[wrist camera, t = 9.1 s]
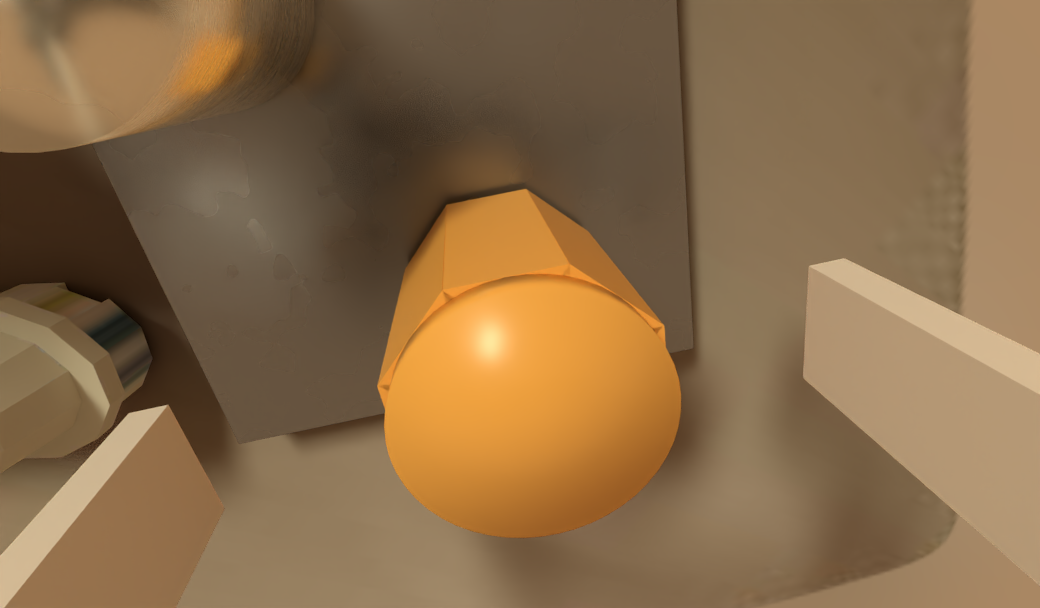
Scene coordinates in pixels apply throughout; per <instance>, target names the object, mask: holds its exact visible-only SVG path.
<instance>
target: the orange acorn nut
mask: <svg viewBox="0 0 1040 608" xmlns="http://www.w3.org/2000/svg"><path fill="white" fill-rule="evenodd" d="M377 387H378V390H379V393H380V396H381V399H382V402H383V405H384V408H385V421H384V429H385V440H386V445H387V449H388V453H389V457H390V459H391V462H392V464H393V466H394V468H395V471H396V473H397V474H398V476H399V478H400V479H401V481H402V482H403V484H404V485H405V487H406V488H407V489H408V490H409V491H410V493H411V494H412V495H413V496H414V497H415V498H416V499H417V500H418V501H419V502H420V503H421V504H423V505H424V506H425V507H426V508H427V509H429V510H430V511H432V512H433V513H435V514H436V515H438V516H439V517H441V518H442V519H444V520H446V521H448V522H450V523H452V524H454V525H456V526H459V527H462V528H465V529H467V530H470V531H473V532H478V533H482V534H486V535H491V536H499V537H509V538H529V537H542V536H548V535H553V534H559V533H563V532H566V531H570V530H574V529H577V528H579V527H582V526H585V525H587V524H590V523H592V522H594V521H596V520H598V519H600V518H602V517H604V516H606V515H608V514H610V513H611V512H613V511H615V510H616V509H618V508H619V507H621V506H622V505H624V504H625V503H626V502H627V501H629V500H630V499H631V498H633V497H634V496H635V495H636V494H637V493H638V492H639V491H640V490H641V489H642V488H643V487H644V486H645V485H646V484H647V483H648V482H649V481H650V480H651V479H652V477H653V476H654V475H655V474H656V472H657V471H658V470H659V468H660V467H661V465H662V463H663V462H664V460H665V459H666V457H667V455H668V453H669V451H670V449H671V447H672V445H673V442H674V439H675V436H676V433H677V430H678V426H679V420H680V414H681V390H680V383H679V378H678V375H677V371H676V368H675V365H674V363H673V361H672V359H671V357H670V355H669V352H668V350H667V349H666V342H665V328H664V325H663V323H662V322H661V321H660V320H659V319H658V317H657V316H656V315H655V314H654V312H653V311H652V310H651V309H650V307H649V306H648V305H647V304H646V302H645V301H644V300H643V299H642V297H641V296H640V295H639V294H638V292H637V291H636V290H635V289H634V288H633V286H632V285H631V284H630V283H629V281H628V280H627V279H626V278H625V276H624V275H623V274H622V273H621V271H620V270H619V269H618V268H617V266H616V265H615V264H614V263H613V261H612V260H611V259H610V258H609V256H608V255H607V254H606V253H605V252H604V250H603V249H602V248H601V247H600V245H599V244H598V243H597V242H596V240H595V239H594V238H593V237H592V235H591V234H590V233H589V232H588V231H587V230H586V229H584V228H583V227H581V226H580V225H578V224H577V223H575V222H574V221H572V220H571V219H569V218H568V217H567V216H565V215H564V214H562V213H561V212H559V211H558V210H556V209H555V208H553V207H552V206H550V205H549V204H548V203H546V202H545V201H543V200H542V199H540V198H539V197H537V196H536V195H534V194H533V193H531V192H530V191H528V190H527V189H522V190H517V191H512V192H507V193H502V194H497V195H492V196H487V197H482V198H477V199H472V200H467V201H462V202H457V203H453V204H448V205H446V206H445V208H444V209H443V211H442V213H441V214H440V216H439V217H438V219H437V220H436V222H435V223H434V225H433V226H432V228H431V230H430V231H429V233H428V234H427V236H426V237H425V239H424V240H423V242H422V244H421V245H420V247H419V248H418V250H417V251H416V253H415V254H414V256H413V257H412V259H411V261H410V262H409V264H408V265H407V267H406V268H405V272H404V276H403V280H402V284H401V289H400V293H399V297H398V301H397V305H396V310H395V314H394V318H393V322H392V326H391V331H390V335H389V339H388V343H387V347H386V352H385V356H384V360H383V364H382V368H381V373H380V377H379V381H378V385H377Z"/></svg>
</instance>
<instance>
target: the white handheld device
mask: <svg viewBox="0 0 1040 608" xmlns="http://www.w3.org/2000/svg"><path fill="white" fill-rule="evenodd" d="M152 359H153V358H152V355H151V353H150V350H149V347H148V344H147V342H146V339H145V336H144V334H143V331H142V328H141V326H139V325H138V324H137V323H136V322H135V321H134V320H133V319H132V318H130V317H129V316H128V315H127V314H126V313H125V312H124V311H122V310H121V309H120V308H119V307H118V306H117V305H116V304H114V303H113V302H112V301H111V300H110V299H107V300H106V301H104V302H102V303H101V302H98V301H95V300H92V299H90V298H87V297H84V296H81V295H79V294H76V293H73V292H70V291H68V289H67V287H66V285H65V283H37V284H20V285H18V286H16V287H14V288H11V289H9V290H7V291H4V292H2V293H0V473H2V472H3V471H5V470H6V469H8V468H10V467H11V466H13V465H14V464H16V463H17V462H19V461H20V460H22V459H25V458H62V457H64V456H66V455H68V454H69V453H71V452H73V451H75V450H77V449H79V448H81V447H83V446H85V445H87V444H89V443H91V442H93V441H95V440H96V439H98V438H99V437H100V436H102V435H103V434H104V433H105V432H106V431H107V430H109V429H110V428H111V427H112V426H113V424H114V421H115V419H116V416H117V414H118V411H119V408H120V406H121V403H122V401H124V400H125V399H126V398H127V397H129V396H130V395H131V394H132V393H133V392H135V391H136V390H137V389H138V388H140V387H141V386H142V385H143V382H144V380H145V377H146V374H147V372H148V369H149V367H150V364H151V362H152Z"/></svg>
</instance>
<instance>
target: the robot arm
mask: <svg viewBox="0 0 1040 608" xmlns="http://www.w3.org/2000/svg"><path fill="white" fill-rule="evenodd" d="M803 378H804V379H805V380H806V381H807V382H808V383H809V384H810V385H812V386H813V387H814V388H815V389H816V390H817V391H818V392H820V393H821V394H822V395H823V396H824V397H825V398H826V399H828V400H829V401H830V402H831V403H832V404H833V405H834V406H836V407H837V408H838V409H839V410H840V411H841V412H842V413H843V414H845V415H846V416H847V417H848V418H849V419H850V420H851V421H853V422H854V423H855V424H856V425H857V426H858V427H859V428H861V429H862V430H863V431H864V432H865V433H866V434H867V435H869V436H870V437H871V438H872V439H873V440H874V441H875V442H877V443H878V444H879V445H880V446H881V447H882V448H883V449H884V450H886V451H887V452H888V453H889V454H890V455H891V456H892V457H894V458H895V459H896V460H897V461H898V462H899V463H900V464H902V465H903V466H904V467H905V468H906V469H907V470H908V471H910V472H911V473H912V474H913V475H914V476H915V477H916V478H917V479H919V480H920V481H921V482H922V483H923V484H924V485H925V486H927V487H928V488H929V489H930V490H931V491H932V492H933V493H935V494H936V495H937V496H938V497H939V498H940V499H941V500H943V501H944V502H945V503H946V504H947V505H948V506H949V507H950V508H952V509H953V510H954V511H955V512H956V513H957V514H958V515H960V516H961V517H962V518H963V519H964V520H965V521H966V522H968V523H969V524H970V525H971V526H972V527H973V528H975V529H976V530H977V531H978V532H979V533H980V534H981V535H982V536H984V537H985V538H986V539H987V540H988V541H989V542H990V543H992V544H993V545H994V546H995V547H996V548H997V549H999V551H1001V552H1002V553H1003V554H1004V555H1005V556H1006V557H1007V558H1009V559H1010V560H1011V561H1012V562H1013V563H1014V564H1015V565H1017V566H1018V567H1019V568H1020V569H1021V570H1022V571H1023V572H1025V573H1026V574H1027V575H1028V576H1029V577H1030V578H1031V579H1032V580H1034V581H1035V582H1036V583H1037V584H1038V585H1039V586H1040V354H1039V353H1037V352H1035V351H1033V350H1031V349H1029V348H1027V347H1025V346H1023V345H1020V344H1018V343H1016V342H1014V341H1012V340H1010V339H1008V338H1006V337H1004V336H1002V335H1000V334H998V333H996V332H994V331H992V330H990V329H987V328H986V327H983V326H981V325H979V324H977V323H975V322H973V321H971V320H969V319H967V318H965V317H963V316H961V315H959V314H957V313H955V312H953V311H951V310H949V309H947V308H945V307H943V306H941V305H939V304H937V303H935V302H933V301H930V300H928V299H926V298H924V297H922V296H920V295H918V294H916V293H914V292H912V291H910V290H908V289H906V288H904V287H902V286H900V285H898V284H896V283H894V282H892V281H890V280H888V279H885V278H883V277H881V276H879V275H877V274H875V273H873V272H871V271H869V270H867V269H865V268H863V267H861V266H859V265H857V264H855V263H853V262H851V261H849V260H847V259H845V258H844V259H839V260H834V261H830V262H825V263H821V264H816V265H811V266H809V273H808V292H807V311H806V331H805V350H804V369H803ZM224 509H225V508H224V506H223V504H222V503H221V501H220V499H219V497H218V495H217V493H216V492H215V490H214V488H213V486H212V484H211V482H210V481H209V479H208V477H207V475H206V473H205V471H204V469H203V468H202V466H201V464H200V462H199V460H198V458H197V457H196V455H195V453H194V451H193V449H192V447H191V446H190V444H189V442H188V440H187V438H186V436H185V434H184V433H183V431H182V429H181V427H180V425H179V423H178V422H177V420H176V418H175V416H174V414H173V412H172V410H171V409H170V407H169V405H165V406H160V407H155V408H151V409H146V410H141V411H137V412H132V413H129V414H128V415H127V416H126V417H125V418H124V419H123V420H122V421H121V423H120V424H119V425H118V426H117V427H116V428H115V429H114V430H113V431H112V432H111V434H110V435H109V436H108V437H107V438H106V439H105V440H104V441H103V442H102V444H101V445H100V446H99V447H98V448H97V449H96V450H95V451H94V452H93V454H92V455H91V456H90V457H89V458H88V459H87V460H86V461H85V462H84V464H83V465H82V466H81V467H80V468H79V469H78V470H77V471H76V472H75V474H74V475H73V476H72V477H71V478H70V479H69V480H68V481H67V482H66V484H65V485H64V486H63V487H62V488H61V489H60V490H59V491H58V492H57V494H56V495H55V496H54V497H53V498H52V499H51V500H50V501H49V502H48V504H47V505H46V506H45V507H44V508H43V509H42V510H41V511H40V512H39V513H38V515H37V516H36V517H35V518H34V519H33V520H32V521H31V522H30V523H29V525H28V526H27V527H26V528H25V529H24V530H23V531H22V532H21V533H20V535H19V536H18V537H17V538H16V539H15V540H14V541H13V542H12V543H11V545H10V546H9V547H8V548H7V549H6V550H5V551H4V552H3V553H2V555H1V556H0V608H176V606H177V604H178V602H179V600H180V598H181V596H182V594H183V592H184V590H185V588H186V586H187V584H188V582H189V580H190V578H191V575H192V573H193V571H194V569H195V567H196V565H197V563H198V561H199V559H200V557H201V555H202V553H203V551H204V549H205V547H206V545H207V543H208V541H209V539H210V537H211V535H212V533H213V531H214V529H215V527H216V525H217V523H218V521H219V519H220V517H221V515H222V513H223V511H224Z"/></svg>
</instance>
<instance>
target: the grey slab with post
mask: <svg viewBox="0 0 1040 608" xmlns="http://www.w3.org/2000/svg"><path fill="white" fill-rule="evenodd" d="M91 143H92V145H93V147H94V149H95V152H96V154H97V156H98V158H99V160H100V162H101V164H102V166H103V168H104V170H105V172H106V174H107V176H108V178H109V180H110V182H111V184H112V186H113V188H114V190H115V192H116V194H117V196H118V198H119V200H120V202H121V204H122V207H123V209H124V211H125V213H126V215H127V217H128V219H129V221H130V223H131V225H132V227H133V229H134V231H135V233H136V235H137V237H138V239H139V241H140V243H141V245H142V247H143V249H144V251H145V253H146V255H147V257H148V259H149V262H150V264H151V266H152V268H153V270H154V272H155V274H156V276H157V278H158V280H159V282H160V284H161V286H162V288H163V290H164V292H165V294H166V296H167V298H168V300H169V302H170V304H171V306H172V308H173V310H174V312H175V314H176V317H177V319H178V321H179V323H180V325H181V327H182V329H183V331H184V333H185V335H186V337H187V339H188V341H189V343H190V345H191V347H192V349H193V351H194V353H195V355H196V357H197V359H198V361H199V363H200V365H201V367H202V369H203V372H204V374H205V376H206V378H207V380H208V382H209V384H210V386H211V388H212V390H213V392H214V394H215V396H216V398H217V400H218V402H219V404H220V406H221V408H222V410H223V412H224V414H225V416H226V418H227V420H228V422H229V425H230V427H231V429H232V431H233V433H234V435H235V437H236V439H237V441H238V443H239V444H241V443H246V442H251V441H256V440H260V439H265V438H270V437H275V436H279V435H284V434H289V433H294V432H298V431H303V430H308V429H313V428H317V427H322V426H327V425H332V424H336V423H341V422H346V421H351V420H355V419H360V418H365V417H370V416H374V415H379V414H384V413H385V408H384V405H383V402H382V399H381V396H380V393H379V390H378V387H377V385H378V381H379V377H380V373H381V368H382V364H383V360H384V356H385V352H386V347H387V343H388V339H389V335H390V331H391V326H392V322H393V318H394V314H395V310H396V305H397V301H398V297H399V293H400V289H401V284H402V280H403V276H404V272H405V268H406V267H407V265H408V264H409V262H410V261H411V259H412V257H413V256H414V254H415V253H416V251H417V250H418V248H419V247H420V245H421V244H422V242H423V240H424V239H425V237H426V236H427V234H428V233H429V231H430V230H431V228H432V226H433V225H434V223H435V222H436V220H437V219H438V217H439V216H440V214H441V213H442V211H443V209H444V208H445V206H446V205H448V204H453V203H457V202H462V201H467V200H472V199H477V198H482V197H487V196H492V195H497V194H502V193H507V192H512V191H517V190H522V189H527V190H528V191H530V192H531V193H533V194H534V195H536V196H537V197H539V198H540V199H542V200H543V201H545V202H546V203H548V204H549V205H550V206H552V207H553V208H555V209H556V210H558V211H559V212H561V213H562V214H564V215H565V216H567V217H568V218H569V219H571V220H572V221H574V222H575V223H577V224H578V225H580V226H581V227H583V228H584V229H586V230H587V231H588V232H589V233H590V234H591V235H592V237H593V238H594V239H595V240H596V242H597V243H598V244H599V245H600V247H601V248H602V249H603V250H604V252H605V253H606V254H607V255H608V256H609V258H610V259H611V260H612V261H613V263H614V264H615V265H616V266H617V268H618V269H619V270H620V271H621V273H622V274H623V275H624V276H625V278H626V279H627V280H628V281H629V283H630V284H631V285H632V286H633V288H634V289H635V290H636V291H637V292H638V294H639V295H640V296H641V297H642V299H643V300H644V301H645V302H646V304H647V305H648V306H649V307H650V309H651V310H652V311H653V312H654V314H655V315H656V316H657V317H658V319H659V320H660V321H661V322H662V323H663V325H664V328H665V342H666V349H667V350H668V352H669V353H674V352H678V351H683V350H688V349H693V348H694V347H693V326H692V306H691V285H690V265H689V244H688V224H687V203H686V183H685V162H684V142H683V121H682V101H681V80H680V60H679V40H678V19H677V0H0V152H8V153H40V152H48V151H56V150H63V149H68V148H72V147H77V146H82V145H86V144H91Z"/></svg>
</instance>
